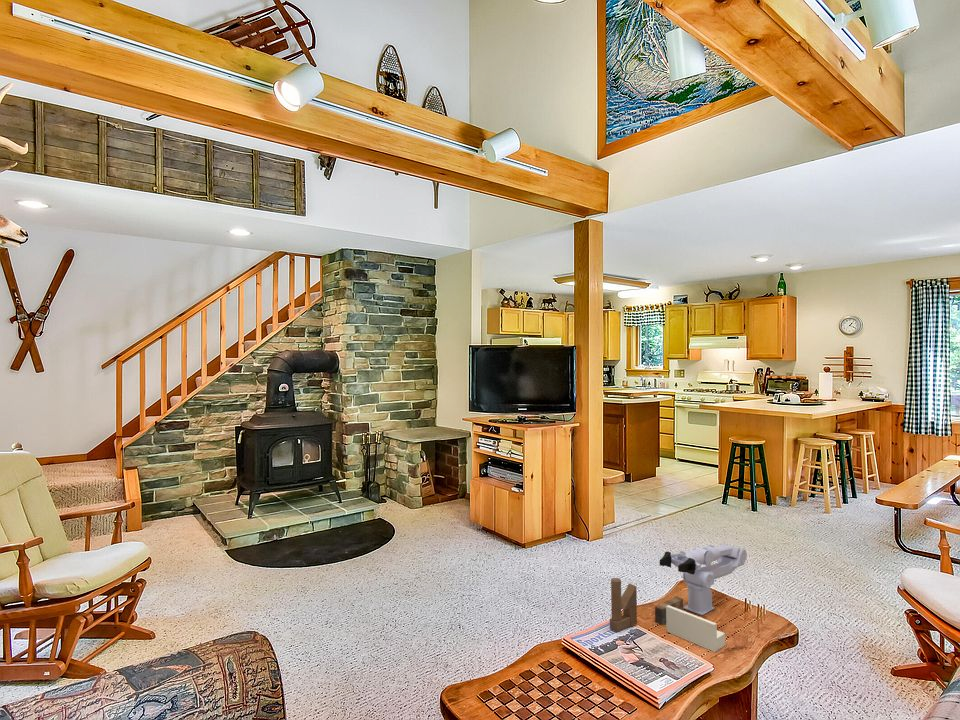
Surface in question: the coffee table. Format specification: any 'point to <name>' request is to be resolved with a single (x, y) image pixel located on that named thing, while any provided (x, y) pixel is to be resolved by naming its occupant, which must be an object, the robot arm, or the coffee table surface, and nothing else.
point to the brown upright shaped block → (623, 606)
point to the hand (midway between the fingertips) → (669, 565)
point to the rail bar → (661, 609)
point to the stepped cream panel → (694, 629)
